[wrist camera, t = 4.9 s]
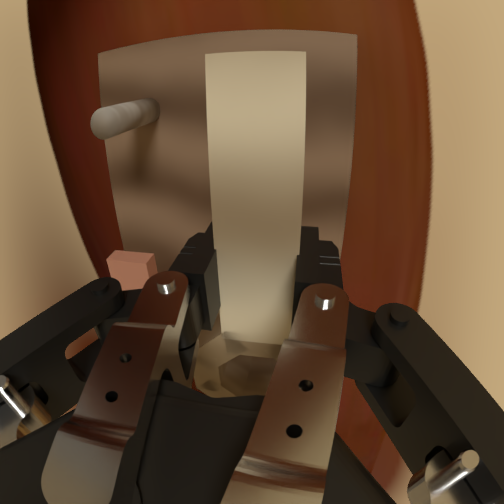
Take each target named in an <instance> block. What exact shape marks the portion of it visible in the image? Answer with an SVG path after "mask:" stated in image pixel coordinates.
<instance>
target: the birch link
mask: <svg viewBox="0 0 504 504" xmlns="http://www.w3.org/2000/svg"><path fill="white" fill-rule="evenodd" d="M205 73H206V108H207V134H208V155H209V175H210V192H211V209H212V224H213V238H214V249H216V251H217V265H218V278H219V290H220V302H221V306H220V309H219V312H218V315H217V317H216V320H215V323H214V326H213V328H212V331H208V330H201V332H200V334H199V337H198V339H199V350H198V355H197V360H196V365H195V371H194V379H195V384H196V388H198V389H199V390H201V391H202V392H203V393H205V394H206V395H208V396H210V397H214V398H221V397H237V396H249V395H263V396H265V394H266V391H267V389H268V386H269V383H270V380H271V377H272V374H273V371H274V368H275V365H276V362H277V359H278V356H279V353H280V350H281V347H282V344H283V341H284V339H288V337H289V334H290V331H291V322H292V310H293V298H294V285H295V274H296V262H297V255H299V251H300V236H301V220H302V202H303V181H304V156H305V122H306V52H302V51H244V52H225V53H212V54H205Z"/></svg>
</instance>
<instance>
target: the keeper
mask: <svg viewBox="0 0 504 504" xmlns="http://www.w3.org/2000/svg"><path fill="white" fill-rule="evenodd" d="M106 260H107V263H108V267H109V271H110V274H111V278H115V279H117V280H118V281H119V282H120V284H121V288H122V291H123V290H133V289H142V288H143V287H144V284H145V283H146V281H147V280H148V279H149V278H150V277H151V276H153V275H155V274H157V273H158V271H157V266H156V261H155V256H154V254H153V253H142V252H130V251H119V250H115V251H114V252H113V253H112V254H111V255H110V256H109V257H108V258H107V259H106Z"/></svg>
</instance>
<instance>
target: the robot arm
mask: <svg viewBox="0 0 504 504" xmlns="http://www.w3.org/2000/svg"><path fill="white" fill-rule="evenodd" d="M220 306H221V302H220V290H219V278H218V265H217V251H216V249H214V238H213V224H212V222H211V223H210V225H209V226H208V228H207V230H206V231H205V233H202V232H198V233H197V234H195V235H194V236H192V237H191V238H189V239H188V241H187V242H186V244H185V245H184V247H183V248H182V250H181V251H180V254H178V256H177V257H176V259H175V260H174V262H173V263H172V265H171V267H170V268H169V270H168V271H164V272H160V273H157V274H155V275H153V276H151V277H150V278H149V279H148V280H147V281H146V283H145V284H144V287H143V288H142V289H133V290H123V291H122V288H121V284H120V282H119V281H118V280H117V279H115V278H111V277H104V278H99V279H96V280H94V281H92V282H90V283H88V284H87V285H85V286H83V287H82V288H80V289H78V290H77V291H75V292H74V293H72V294H70V295H69V296H67V297H66V298H64V299H62V300H61V301H59V302H58V303H56V304H54V305H53V306H51V307H50V308H48V309H47V310H45V311H44V312H42V313H40V314H39V315H37V316H36V317H34V318H33V319H31V320H30V321H28V322H27V323H25V324H24V325H22V326H21V327H19V328H18V329H16V330H15V331H13V332H12V333H10V334H9V335H7V336H6V337H4V338H3V339H1V340H0V504H396V503H395V501H394V500H393V499H392V498H391V497H390V496H389V495H388V493H386V491H385V490H384V489H383V488H382V487H381V485H380V484H379V483H378V482H377V481H376V480H375V479H374V477H373V476H372V475H371V474H370V472H369V471H368V470H367V469H366V468H365V467H364V465H363V464H362V463H361V462H360V461H359V459H358V458H357V457H356V456H355V455H354V453H353V452H352V451H351V450H350V449H349V447H348V446H347V445H346V444H345V442H344V441H343V440H342V439H341V438H340V436H339V435H338V434H337V433H336V432H335V427H336V422H337V416H338V410H339V404H340V397H341V391H342V384H343V377H348V378H351V379H354V380H355V383H356V386H357V387H358V389H359V391H360V392H361V394H362V395H363V397H364V398H365V400H366V401H367V403H368V405H369V406H370V408H371V409H372V411H373V412H374V414H375V415H376V417H377V419H378V420H379V422H380V423H381V425H382V426H383V428H384V430H385V431H386V433H387V434H388V436H389V437H390V439H391V441H392V442H393V444H394V445H395V447H396V449H397V450H398V452H399V453H400V455H401V456H402V458H403V460H404V461H405V463H406V465H407V466H408V468H409V469H410V471H411V472H412V474H413V476H412V477H411V479H410V481H409V484H408V489H407V493H408V498H409V501H410V503H411V504H504V411H503V410H502V409H501V407H500V406H499V405H498V404H497V403H496V401H495V400H494V399H493V398H492V397H491V395H490V394H489V393H488V392H487V391H486V389H485V388H484V387H483V386H482V384H480V382H479V381H478V380H477V379H476V377H475V376H474V375H473V374H472V373H471V371H470V370H469V369H468V368H467V367H466V366H465V365H464V364H463V362H462V361H461V360H460V359H459V358H458V357H457V356H456V354H455V353H454V352H453V351H452V350H451V349H450V348H449V347H448V346H447V345H446V343H445V342H444V341H443V340H442V339H441V338H440V337H439V336H438V335H437V334H436V333H435V331H434V330H433V329H432V328H431V327H430V326H429V325H428V324H427V323H426V322H425V321H424V320H423V319H422V318H421V317H420V315H419V314H418V313H417V312H416V311H414V310H413V309H412V308H410V307H408V306H406V305H403V304H398V303H388V304H385V305H382V306H381V307H379V308H378V310H377V311H376V313H374V312H371V311H367V310H364V309H361V308H359V307H357V306H355V305H353V304H352V303H351V302H350V301H349V297H348V295H347V293H346V292H345V291H344V290H343V282H342V274H341V266H340V259H339V250H338V248H337V246H336V245H335V244H334V243H333V242H332V241H326V240H319V228H318V227H312V226H301V236H300V251H299V255H297V262H296V274H295V285H294V298H293V310H292V322H291V331H290V334H289V337H288V339H284V341H283V344H282V347H281V350H280V353H279V356H278V359H277V362H276V365H275V368H274V371H273V374H272V377H271V380H270V383H269V386H268V389H267V391H266V394H265V396H263V395H249V396H237V397H221V398H214V397H210V396H207V395H205V394H202V393H200V392H198V391H195V390H193V389H191V387H192V381H193V376H194V371H195V365H196V360H197V355H198V350H199V339H198V337H199V334H200V332H201V330H208V331H212V328H213V326H214V323H215V320H216V317H217V315H218V312H219V309H220ZM93 327H94V329H95V331H96V333H97V335H98V338H99V339H97V340H96V341H94V342H93V343H92V344H90V345H89V346H87V347H86V348H85V349H83V350H82V351H80V352H79V353H78V354H76V355H75V356H73V357H72V358H70V359H66V357H65V350H66V348H67V346H68V345H69V344H70V343H71V342H73V341H74V340H76V339H77V338H78V337H80V336H82V335H83V334H84V333H86V332H87V331H89V330H90V329H92V328H93ZM77 403H78V404H77ZM76 404H77V406H76V409H74V410H72V411H70V412H68V413H66V414H65V415H63V414H64V413H65V412H66V411H68V410H69V409H70V408H72V407H73V406H74V405H76ZM61 415H63V416H61ZM60 416H61V417H60Z"/></svg>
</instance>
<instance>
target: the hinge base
mask: <svg viewBox="0 0 504 504" xmlns="http://www.w3.org/2000/svg"><path fill="white" fill-rule="evenodd" d="M244 51H302V52H306V122H305V156H304V181H303V202H302V220H301V226H312V227H318V228H319V240H326V241H332V242H333V243H334V244H335V245H336V246H337V248H338V250H339V259H340V257H341V250H342V243H343V236H344V228H345V221H346V213H347V204H348V195H349V186H350V176H351V166H352V154H353V141H354V126H355V109H356V84H357V35H355V34H346V33H336V32H324V31H308V30H242V31H226V32H214V33H204V34H195V35H187V36H180V37H173V38H167V39H161V40H155V41H150V42H145V43H140V44H135V45H131V46H126V47H122V48H118V49H114V50H110V51H106V52H102V53H99V54H98V67H99V85H100V99H101V108H100V109H98V110H96V111H95V112H94V114H93V115H92V118H91V129H92V132H93V133H94V135H95V136H96V137H97V138H99V139H103V140H105V146H106V154H107V161H108V168H109V174H110V180H111V186H112V192H113V198H114V203H115V209H116V214H117V219H118V224H119V229H120V233H121V238H122V243H123V247H124V251H130V252H142V253H153V254H154V256H155V261H156V266H157V271H158V273H160V272H164V271H168V270H169V268H170V267H171V265H172V263H173V262H174V260H175V259H176V257H177V256H178V254H180V251H181V250H182V248H183V247H184V245H185V244H186V242H187V241H188V239H189V238H191V237H192V236H194V235H195V234H197V233H198V232H202V233H205V231H206V230H207V228H208V226H209V225H210V223H211V222H212V209H211V192H210V175H209V155H208V134H207V108H206V73H205V54H212V53H225V52H244Z"/></svg>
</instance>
